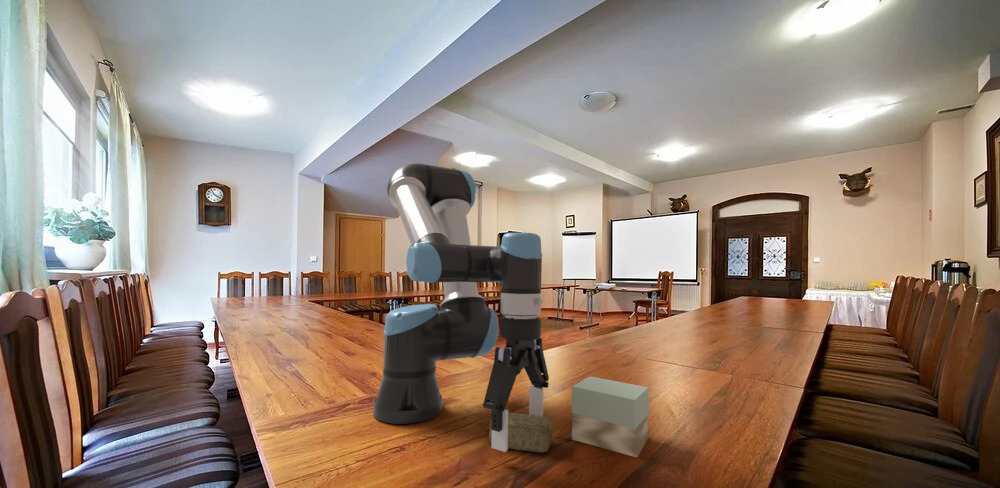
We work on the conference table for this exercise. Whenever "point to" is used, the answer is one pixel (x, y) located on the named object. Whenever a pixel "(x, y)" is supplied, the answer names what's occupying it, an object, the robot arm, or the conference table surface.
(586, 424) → the tower base
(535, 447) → the stone block
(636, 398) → the tower top
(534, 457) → the conference table surface
